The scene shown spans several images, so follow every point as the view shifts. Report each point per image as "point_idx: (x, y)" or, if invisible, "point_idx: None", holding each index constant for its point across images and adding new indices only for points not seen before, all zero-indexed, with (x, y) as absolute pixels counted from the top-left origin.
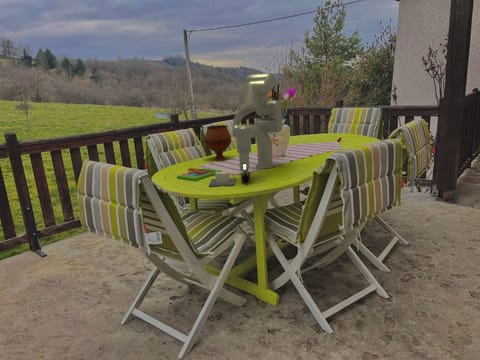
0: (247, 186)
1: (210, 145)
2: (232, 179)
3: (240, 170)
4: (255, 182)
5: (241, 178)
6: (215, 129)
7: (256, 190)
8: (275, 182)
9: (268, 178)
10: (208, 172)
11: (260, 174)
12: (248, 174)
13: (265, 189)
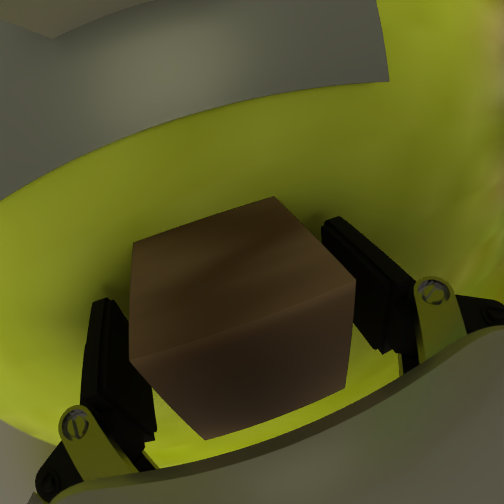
0: (43, 353)
1: None
2: (290, 34)
3: (53, 500)
4: None
5: (133, 303)
6: None
7: (7, 416)
8: (232, 441)
9: (346, 377)
10: None
11: (462, 279)
12: (197, 432)
13: (56, 443)
